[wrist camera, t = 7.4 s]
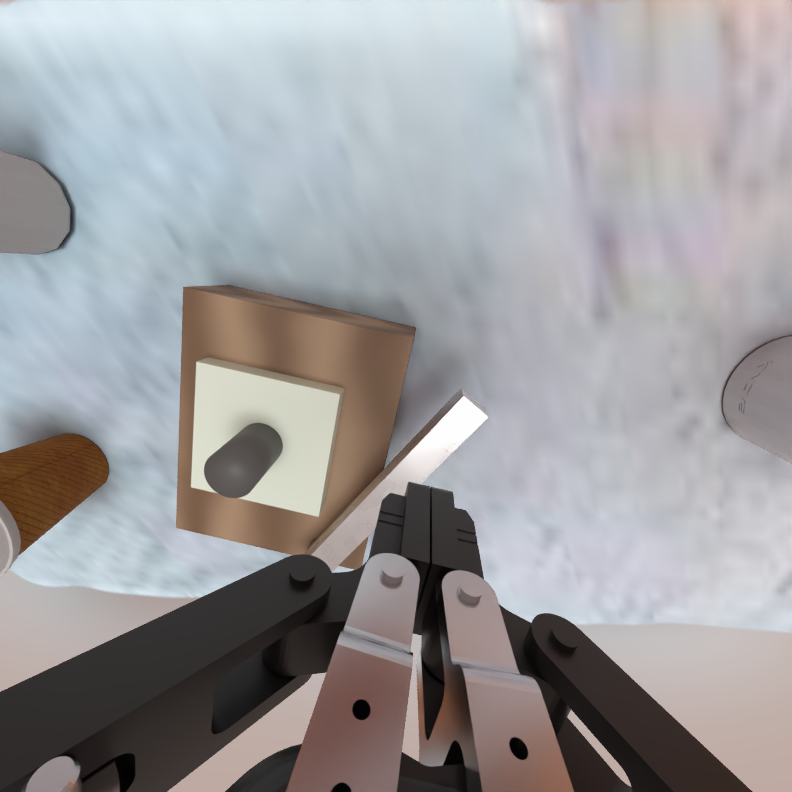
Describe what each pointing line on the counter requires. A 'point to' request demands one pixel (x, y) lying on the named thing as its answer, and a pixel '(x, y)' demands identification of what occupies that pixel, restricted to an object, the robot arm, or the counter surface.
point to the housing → (304, 358)
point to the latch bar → (400, 476)
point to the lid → (263, 435)
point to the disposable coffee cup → (44, 488)
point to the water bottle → (30, 207)
